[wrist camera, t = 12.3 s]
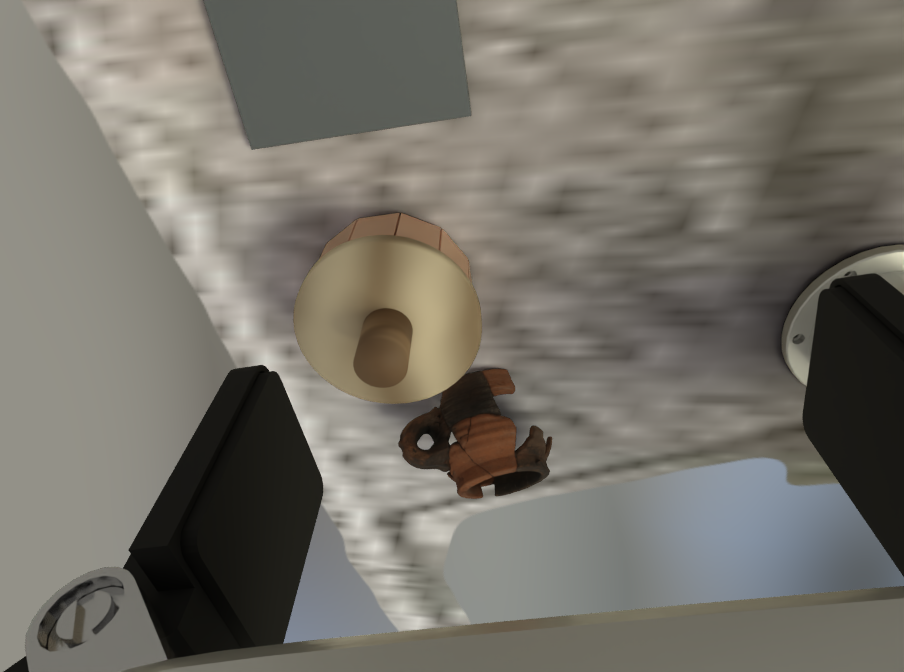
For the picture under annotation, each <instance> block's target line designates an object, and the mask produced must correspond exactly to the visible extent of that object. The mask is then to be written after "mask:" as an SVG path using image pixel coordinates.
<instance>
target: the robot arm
mask: <svg viewBox="0 0 904 672" xmlns="http://www.w3.org/2000/svg"><path fill="white" fill-rule="evenodd" d="M781 342H782V353H783V356H784V360H785V362H786V364H787V365H788V367H789V369H790V370H791V372H792V373H793V374H794V375H795V377H796V378H797V379H798V380H799V381H800V382H801V383H802V384H803V385H805V386H806V394H805V401H804V409H803V425H804V429H805V432H806V434H807V436H808V438H809V439H810V441H811V442H812V444H813V445H814V447H815V448H816V450H817V451H818V453H819V454H820V455H821V457H822V458H823V460H824V461H825V463H826V464H827V466H828V467H829V469H830V470H831V471H832V473H833V474H834V476H835V477H836V479H837V480H838V482H839V483H840V485H841V486H842V487H843V489H844V490H845V492H846V493H847V495H848V496H849V498H850V499H851V501H852V502H853V503H854V505H855V506H856V508H857V509H858V511H859V512H860V514H861V515H862V517H863V518H864V519H865V521H866V522H867V524H868V525H869V527H870V528H871V530H872V531H873V532H874V534H875V536H876V537H877V538H878V540H879V541H880V543H881V544H882V546H883V547H884V549H885V550H886V552H887V553H888V555H889V556H890V557H891V559H892V560H893V562H894V563H895V565H896V566H897V568H898V569H899V571H900V572H901V573H902V575H903V576H904V245H892V246H884V247H878V248H875V249H871V250H868V251H864V252H861V253H859V254H856V255H854V256H852V257H850V258H847V259H845V260H843V261H841V262H840V263H838V264H836V265H835V266H833V267H831V268H830V269H828V270H827V271H825V272H824V273H823V274H822V275H820V276H819V277H818V278H817V279H816V280H814V281H813V282H812V283H811V284H810V285H809V286H808V287H807V288H806V289H805V290H804V292H803V293H802V294H801V295H800V296H799V297H798V299H797V300H796V302H795V303H794V305H793V306H792V308H791V309H790V312H789V314H788V316H787V319H786V321H785V323H784V327H783V332H782V337H781ZM322 496H323V481H322V477H321V474H320V472H319V469H318V467H317V465H316V462H315V460H314V458H313V455H312V453H311V450H310V448H309V446H308V443H307V441H306V438H305V436H304V434H303V431H302V429H301V426H300V424H299V422H298V419H297V417H296V414H295V412H294V410H293V407H292V405H291V402H290V400H289V398H288V395H287V393H286V391H285V388H284V386H283V383H282V381H281V379H280V377H279V375H278V374H277V372H275V371H271V372H269V370H268V369H267V368H266V367H265V366H263V365H258V366H251V367H245V368H238V369H233V370H231V371H230V372H229V373H228V375H227V377H226V378H225V380H224V382H223V384H222V385H221V387H220V389H219V391H218V392H217V394H216V396H215V398H214V400H213V401H212V403H211V405H210V407H209V408H208V410H207V412H206V414H205V415H204V417H203V419H202V421H201V423H200V425H199V426H198V428H197V430H196V432H195V433H194V435H193V437H192V439H191V441H190V442H189V444H188V446H187V447H186V449H185V451H184V453H183V454H182V456H181V458H180V460H179V462H178V463H177V465H176V467H175V469H174V470H173V472H172V474H171V476H170V477H169V479H168V481H167V483H166V485H165V486H164V488H163V490H162V492H161V493H160V495H159V497H158V499H157V500H156V502H155V504H154V506H153V508H152V509H151V511H150V513H149V515H148V516H147V518H146V520H145V522H144V524H143V525H142V527H141V529H140V531H139V532H138V534H137V536H136V538H135V539H134V541H133V543H132V545H131V547H130V548H129V551H130V553H131V555H130V557H129V558H128V560H127V562H126V564H125V566H124V567H123V569H122V568H119V567H105V568H101V569H98V570H94V571H91V572H88V573H86V574H84V575H82V576H80V577H78V578H76V579H74V580H72V581H71V582H70V583H68V584H67V585H65V586H64V587H63V588H61V589H60V590H58V591H57V592H56V593H55V594H54V595H53V596H52V597H51V598H50V599H49V600H48V601H47V602H46V603H45V604H44V605H43V606H42V607H41V609H40V610H39V611H38V613H37V614H36V616H35V617H34V618H33V620H32V622H31V624H30V626H29V629H28V631H27V633H26V640H25V651H26V656H25V657H24V658H22V659H21V660H20V661H18V662H17V663H15V664H14V665H12V666H11V667H10V668H8V669H7V670H5V671H4V672H904V586H900V587H885V588H872V589H861V590H849V591H838V592H828V593H815V594H803V595H792V596H780V597H769V598H757V599H747V600H735V601H724V602H712V603H700V604H689V605H678V606H667V607H656V608H646V609H635V610H623V611H612V612H602V613H590V614H580V615H569V616H558V617H548V618H538V619H526V620H516V621H504V622H494V623H483V624H473V625H462V626H452V627H442V628H432V629H422V630H411V631H401V632H391V633H381V634H371V635H360V636H350V637H340V638H330V639H320V640H311V641H302V642H293V643H285V644H283V642H284V639H285V634H286V631H287V627H288V624H289V620H290V616H291V612H292V608H293V605H294V601H295V597H296V594H297V590H298V586H299V583H300V579H301V575H302V571H303V568H304V564H305V559H306V556H307V553H308V549H309V545H310V541H311V538H312V534H313V530H314V526H315V523H316V519H317V515H318V511H319V508H320V504H321V500H322Z"/></svg>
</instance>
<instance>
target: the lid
mask: <svg viewBox="0 0 904 672" xmlns="http://www.w3.org/2000/svg"><path fill="white" fill-rule="evenodd" d="M293 322H294V330H295V334H296V338H297V342H298V344H299V346H300V349H301V351H302V353H303V354H304V356H305V358H306V359H307V361H308V362H309V364H310V365H311V366H312V367H313V369H314V370H315V371H316V372H317V373H318V374H319V375H320V376H321V377H322V378H324V379H325V380H326V381H328V382H329V383H330V384H331V385H333V386H335V387H336V388H338V389H340V390H341V391H343V392H345V393H348V394H350V395H352V396H355V397H358V398H360V399H364V400H368V401H372V402H379V403H390V404H398V403H409V402H415V401H420V400H423V399H427V398H429V397H432V396H434V395H437V394H439V393H441V392H442V391H444V390H446V389H448V388H449V387H450V386H452V385H453V384H455V383H456V382H457V381H458V380H459V379H460V378H461V377H462V376H463V375H464V374H465V373H466V371H467V370H468V369H469V368H470V366H471V364H472V363H473V361H474V359H475V357H476V355H477V352H478V350H479V346H480V341H481V333H482V320H481V308H480V304H479V300H478V296H477V294H476V291H475V289H474V287H473V285H472V283H471V282H470V280H469V278H468V277H467V275H466V274H465V273H464V272H463V270H462V269H461V268H460V267H459V266H458V265H457V264H456V263H455V262H454V261H453V260H452V259H451V258H449V257H448V256H447V255H445V254H444V253H443V252H441V251H439V250H437V249H436V248H434V247H432V246H430V245H428V244H425V243H423V242H421V241H418V240H414V239H411V238H407V237H401V236H395V235H374V236H366V237H361V238H357V239H354V240H351V241H348V242H345V243H343V244H341V245H339V246H337V247H335V248H333V249H332V250H330V251H329V252H328V253H326V254H325V255H323V256H322V257H321V258H320V259H319V260H318V261H317V262H316V263H315V264H314V266H313V267H312V268H311V270H310V271H309V272H308V274H307V276H306V278H305V280H304V281H303V284H302V286H301V288H300V290H299V293H298V295H297V298H296V302H295V307H294V319H293Z"/></svg>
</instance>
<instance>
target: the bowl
mask: <svg viewBox="0 0 904 672" xmlns="http://www.w3.org/2000/svg"><path fill="white" fill-rule="evenodd" d="M374 235H395V236H401V237H407V238H411V239H414V240H418V241H421V242H423V243H425V244H428V245H430V246H432V247H434V248H436V249H437V250H439V251H441V252H443V253H444V254H445V255H447V256H448V257H449V258H451V259H452V260H453V261H454V262H455V263H456V264H457V265H458V266H459V267H460V268H461V269H462V270H463V272H464V273H465V274H466V275H467V277H468V278H469V280H470V282H471V283H472V279H471V273H470V266H469V260H468V258H467V257H466V256H465V255H464V253H463V252H462V251H461V250H460V249H459V248H458V246H457V245H456V244H455V243H454V242H453V241H452V239H451V238H450V237H449V236H448V235H447V234H446V232H445V231H444V230H443V229H441V230H440V227H438V226H435V225H432V224H430V223H427V222H424V221H422V220H419V219H416V218H413V217H411V216H408V215H405V214H403V213H401V215H400V214H399V213H394V214H387V215H380V216H372V217H365V218H358V220H357V219H356V220H355V221H354V222H352V223H351V224H350V225H349V226H348V227H346V228H345V229H344V230H343V231H341V232H340V233H339V234H338V235H336V236H335V237H334V238H333V239H331V240H330V241H329V242H328V243H327V244H326V245H325V248H324V250H323V252H322V254H321V256H320V258H321V257H322V256H323V255H325V254H326V253H328V252H329V251H330V250H332V249H333V248H335V247H337V246H339V245H341V244H343V243H345V242H348V241H351V240H354V239H357V238H361V237H366V236H374ZM320 258H319V259H320Z"/></svg>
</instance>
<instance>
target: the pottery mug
mask: <svg viewBox="0 0 904 672" xmlns="http://www.w3.org/2000/svg"><path fill="white" fill-rule="evenodd" d="M514 392H515V386H514V383H513V382H512V380H511V377H510V375H509V373H508V371H507V370H506V369H489V370H484V371H477V372H474V373H468V374H465V375H464V376H462V377H461V378H460V379H459V380H458V381H457V382H456V383H455V384H453V385H452V386H450V387H449V388H448V389H446V390H444V391H442V399H441V405H440V408H437V407H434V408H433V409H432V411H430V412H428V413H426V414H423V415H421V416H419V417H417V418H415V419H413V420H412V421H411V422H409V423H408V424H407V426H406V427H405V428H404V429H403V431H402V433H401V435H400V441H399V443H398V445H399V447H400V448H401V449H402V452H403V458H404V459H405V460H406V461H407V462H408V463H409V464H410V465H412V466H414V467H416V468H420V469H439V470H441V471H443V472H447V471H450V472H448V473H447V475H448V476H449V477H450V478H451V479H452V480H453V481H455V482H456V485H457V493H458V494H459V496H461V497H465V498H472V499H476V498H482V497H483V493H482V489H481V487H483V486H488V485H492V484H494V485H495V496H502V495H507V494H511V493H513V492H517V491H520V490H523V489H526V488H528V487H530V486H532V485H534V484H536V483H538V482H541V481H542V480H543V479H545V478H546V477H547V476H548V475H549V472H550V470H549V469H548V467H547V464H546V460H547V457H548V456H549V452H550V449H551V445H552V437H548V438H547V441H546V443H545V440H544V438H543V431H542V430H541V429H540V428H538V427H537V426H534V425H533V426H531V428H530V432H529V437H527V439H526V441H525V442H524V443H523V444H522V445H521V446H520V447H519V448H518V449H517V450H515V446H516V444H515V441H516V426H515V425H514V423H513V421H512V420H511V419H510V418H507V417H505V416H501V412H500V410H499V408H498V406H497V404H496V402H495V400H494V398H493V396H497V395H502V394H513V393H514ZM451 432H452V433H453V435H454V437H455V438H456V440H457V442H455V443H452V444H451V445H450V444H449V438H450V434H451ZM423 434H429V435H430V436H431V437H432V439H433V441H434V444H433V445H432V447H431V448H430V449H429V450H423V449H420V448H419V447H418V446H417V442H418V440H419V439H420V437H421V436H422V435H423Z"/></svg>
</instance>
